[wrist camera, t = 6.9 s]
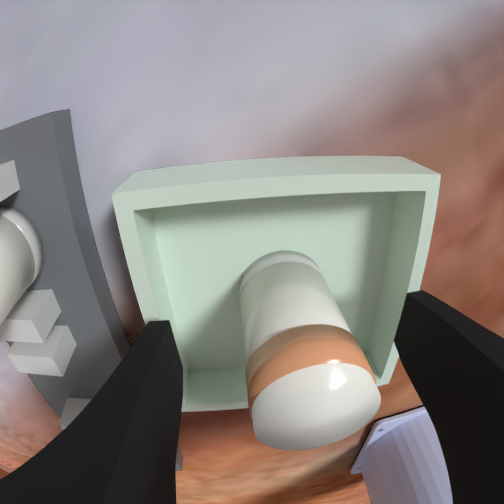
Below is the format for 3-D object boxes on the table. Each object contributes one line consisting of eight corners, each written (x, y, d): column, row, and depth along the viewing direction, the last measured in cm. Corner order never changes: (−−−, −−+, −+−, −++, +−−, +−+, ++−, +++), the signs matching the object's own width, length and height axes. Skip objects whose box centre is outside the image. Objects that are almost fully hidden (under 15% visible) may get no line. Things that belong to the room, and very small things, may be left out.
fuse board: (182, 456, 18) (181, 493, 15) (104, 451, 18) (98, 485, 15) (69, 109, 8) (18, 118, 5) (-42, 151, 8) (-91, 173, 5)
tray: (370, 347, 14) (388, 383, 12) (181, 369, 14) (177, 411, 11) (401, 156, 10) (440, 174, 8) (134, 171, 9) (111, 194, 7)
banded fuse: (319, 318, 12) (364, 438, 7) (238, 324, 12) (251, 456, 7) (328, 247, 11) (400, 366, 6) (235, 251, 10) (249, 388, 6)
